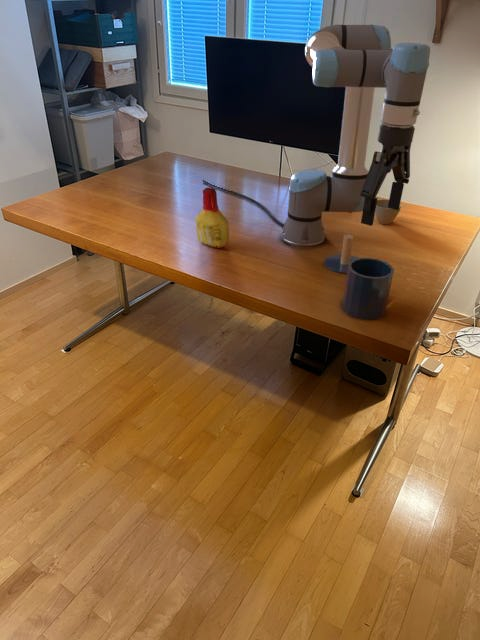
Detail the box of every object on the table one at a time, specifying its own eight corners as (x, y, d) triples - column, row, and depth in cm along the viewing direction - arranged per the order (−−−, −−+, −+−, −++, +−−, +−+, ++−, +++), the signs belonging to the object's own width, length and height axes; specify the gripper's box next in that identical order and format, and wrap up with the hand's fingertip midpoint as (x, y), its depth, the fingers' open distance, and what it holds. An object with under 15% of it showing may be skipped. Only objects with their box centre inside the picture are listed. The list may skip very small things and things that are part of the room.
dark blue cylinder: (334, 308, 132) (339, 268, 125) (355, 292, 139) (362, 253, 132) (372, 324, 125) (380, 283, 118) (392, 307, 133) (401, 267, 126)
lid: (316, 266, 152) (319, 237, 146) (337, 253, 160) (341, 224, 154) (351, 280, 145) (356, 249, 139) (372, 265, 153) (377, 236, 147)
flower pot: (398, 228, 178) (402, 209, 174) (371, 225, 180) (374, 207, 176) (396, 218, 186) (400, 200, 182) (370, 216, 188) (373, 198, 184)
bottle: (192, 244, 165) (190, 187, 154) (203, 237, 170) (201, 181, 159) (222, 252, 160) (221, 193, 149) (232, 245, 165) (232, 188, 154)
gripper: (386, 137, 96) (369, 235, 108) (437, 118, 111) (416, 206, 123) (353, 131, 100) (340, 226, 112) (406, 113, 115) (389, 199, 127)
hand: (380, 216), depth 117 cm, fingers open, 13 cm apart
